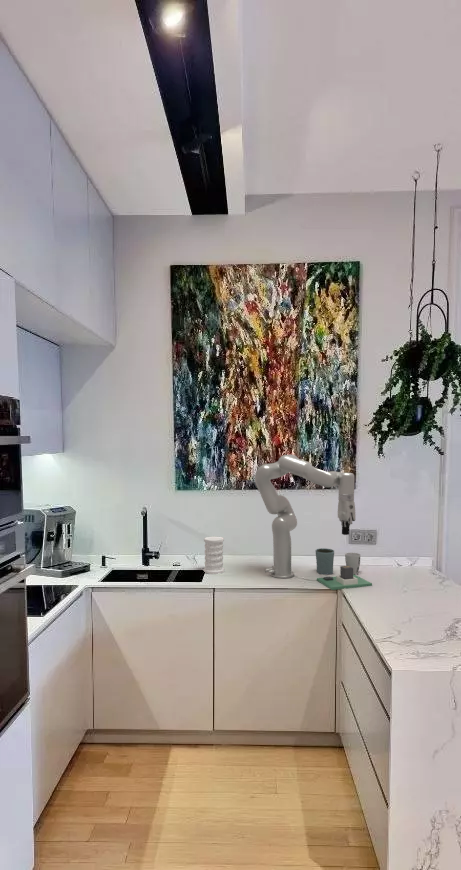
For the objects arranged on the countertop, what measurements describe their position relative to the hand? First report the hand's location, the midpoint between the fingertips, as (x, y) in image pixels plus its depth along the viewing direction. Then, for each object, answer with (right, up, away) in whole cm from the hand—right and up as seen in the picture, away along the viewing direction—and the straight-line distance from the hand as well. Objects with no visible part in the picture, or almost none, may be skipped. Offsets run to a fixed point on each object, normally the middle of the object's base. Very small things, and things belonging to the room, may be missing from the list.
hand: (345, 534), depth 236 cm
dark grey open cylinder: (-6, -25, +21) cm, 34 cm away
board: (0, -25, +2) cm, 25 cm away
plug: (+1, -23, -1) cm, 23 cm away
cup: (+9, -25, +21) cm, 34 cm away
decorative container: (-66, -26, +25) cm, 75 cm away
